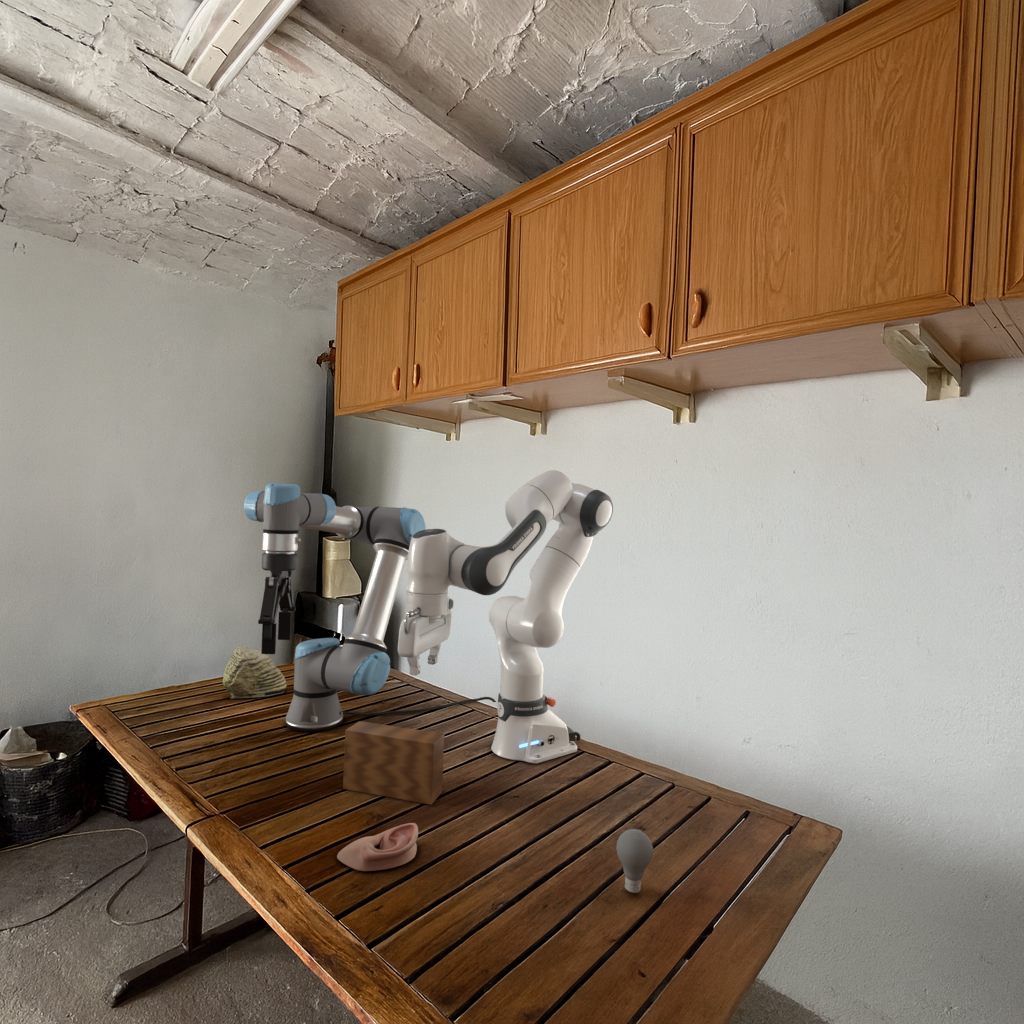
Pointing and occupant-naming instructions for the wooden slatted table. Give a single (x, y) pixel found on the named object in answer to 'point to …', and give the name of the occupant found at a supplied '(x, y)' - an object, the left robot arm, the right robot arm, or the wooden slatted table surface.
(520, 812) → the wooden slatted table surface
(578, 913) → the wooden slatted table surface
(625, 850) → the light bulb
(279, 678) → the fossil
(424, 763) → the box
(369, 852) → the anatomical model
